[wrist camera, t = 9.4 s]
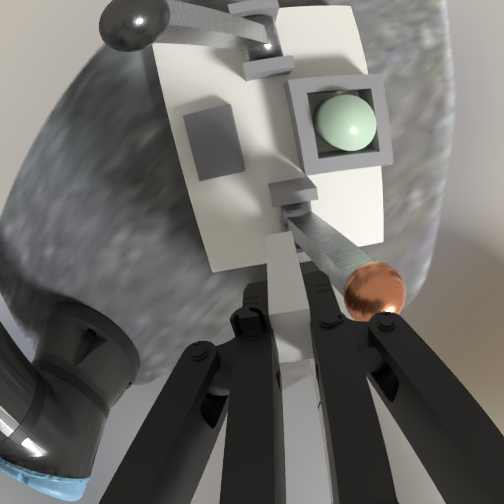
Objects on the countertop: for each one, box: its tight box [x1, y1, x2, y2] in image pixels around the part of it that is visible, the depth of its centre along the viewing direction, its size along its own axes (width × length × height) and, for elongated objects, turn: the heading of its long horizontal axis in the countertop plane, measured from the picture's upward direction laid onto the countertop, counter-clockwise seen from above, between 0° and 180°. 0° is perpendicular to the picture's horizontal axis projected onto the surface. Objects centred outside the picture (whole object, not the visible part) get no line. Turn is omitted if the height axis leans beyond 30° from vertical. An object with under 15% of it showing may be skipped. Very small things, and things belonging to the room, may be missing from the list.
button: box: [312, 95, 377, 151], centre depth 16 cm, size 4×4×3 cm
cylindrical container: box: [310, 283, 446, 504], centre depth 17 cm, size 7×7×25 cm
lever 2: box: [277, 201, 406, 321], centre depth 15 cm, size 3×3×13 cm
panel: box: [152, 0, 393, 272], centre depth 18 cm, size 15×20×6 cm
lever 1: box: [99, 0, 283, 62], centre depth 10 cm, size 3×3×13 cm
